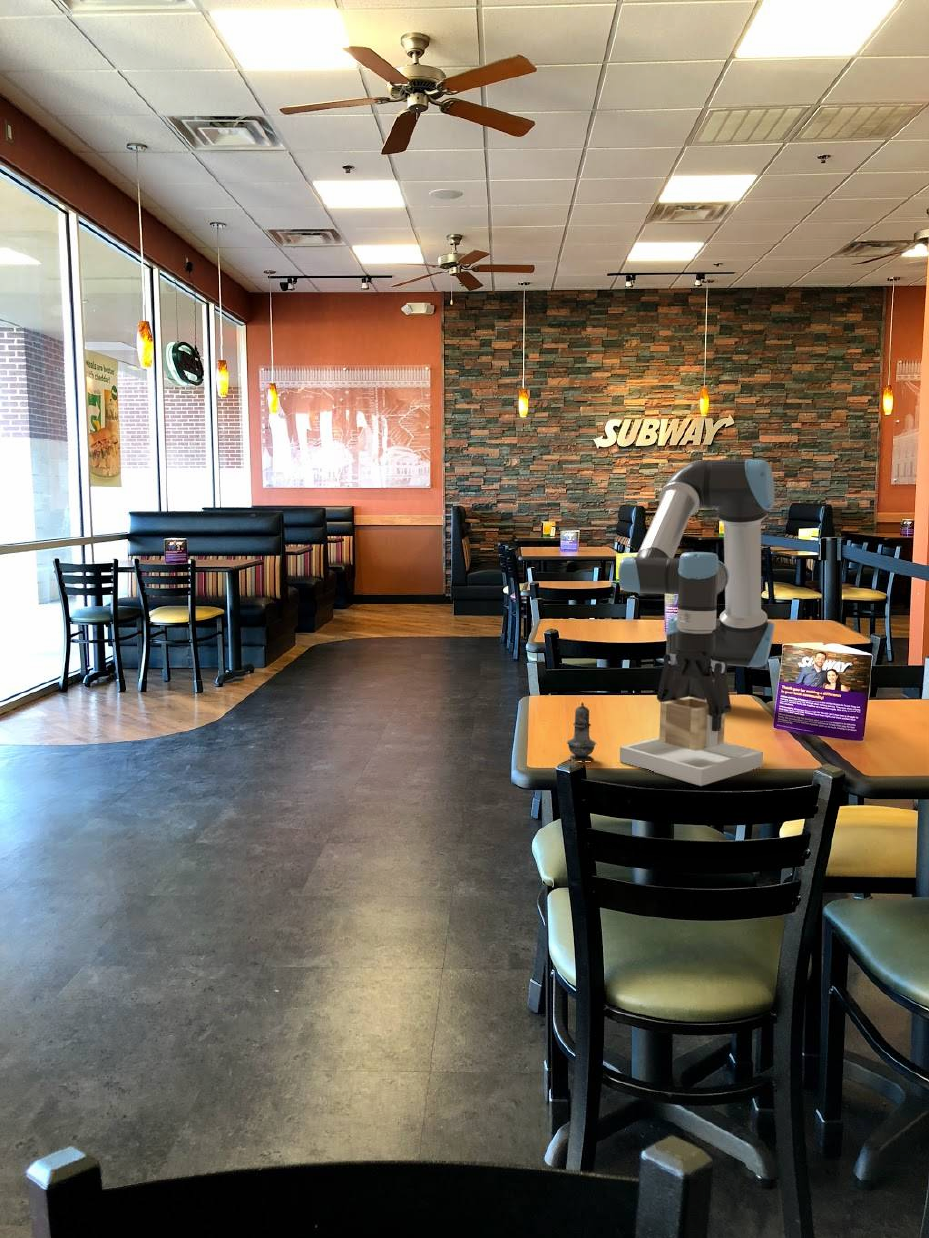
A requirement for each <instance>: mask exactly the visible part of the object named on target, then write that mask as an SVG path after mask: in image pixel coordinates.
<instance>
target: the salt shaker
mask: <svg viewBox="0 0 929 1238" xmlns="http://www.w3.org/2000/svg"><path fill="white" fill-rule="evenodd" d="M574 716H575V717H574V722H573V723H572V724H573V726H574V734H573V738H571V739H568V740H567V742H566V744H567V745H568V748H569V752H570V753H571V754H572V755H570V756H569V757H570V759H567V760H568V761H569V760H573V761H582V762H585V761H593V760H594V761H595V759H594V757H592V756H591V754H592V753H593V752H594V750H595V746H596V745H597V742H596V741H594V740H592V739H591V737H590V727H591V726H592V725H591V723H590V710H589V708H588V707H586V706H585V703H584V702H581V704H580V706H578V707H576V709H575V713H574ZM594 761H593V762H594Z"/></svg>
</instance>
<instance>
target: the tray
mask: <svg viewBox="0 0 929 1238" xmlns="http://www.w3.org/2000/svg"><path fill="white" fill-rule="evenodd" d="M763 760H764V751H761V750H757V749H753V748H749V747H745V746H741V745H737V744H733V743H730V742H729V743H728V742H727V741H726V742H725V741H724V743H723V744H719V745H717V746H714V747H710V748H705V749H701V750H698V751H694V750H691V749H687V748H683V747H679V746H675V745H671V744H668V743H664V742H660V741H659V737H656V738H655V737H654V738H652V739H647V740H642V741H639V742H635V743H631V744H627V745H622V746H619V762H620V763H622V762H623V764H625V763H626V765H629V764H630V765H629V766H632V765H633V767H635V766H636V767H635V768H639V767H642V768H646V769H649V770H651V771H650V772H652V771H654V772H653V773H656V774H659V775H661V776H662V775H663V776H666V777H670V778H673V779H676V780H679V781H682V782H686V783H689V784H693V785H696V786H699V787H702V786H706V785H709V784H712V783H716V782H718V781H721V780H724V779H728V778H732V777H734V776H737V775H740V774H744V773H747V772H750V771H753V769H754V770H757V769H759V768H758V767H760V768H762V767H763V763H764V762H763ZM761 766H762V767H761ZM642 768H641V769H642ZM756 768H757V769H756ZM649 770H648V771H649Z"/></svg>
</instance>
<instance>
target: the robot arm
mask: <svg viewBox="0 0 929 1238" xmlns="http://www.w3.org/2000/svg"><path fill="white" fill-rule="evenodd" d="M775 490H776V488H775V481H774V475H773V471H772V468H771V465H770V464H769V463H768V461H766V460H763V459H751V458H742V459H741V458H740V459H737V458H736V459H701V460H696V461H693V462H690V463H688V464H687V465H685V466H683V467H681V468H680V469H678V470H677V471H676V472H674V473H673V474H672V475H671V476H670V477H668V479H667V480H666V481H665V482H664V484H663V486H662V488H661V490H660V493H659V494H658V504H659V505H658V507H657V510H656V512H655V515H654V516H653V518H652V521H651V523H650V525H649V527H648V530H647V532H646V534H645V537H643V541H642V544H641V545H640V548H639V550H638V553H636V554H637V555H636V556H634V555H633V556H632V555H631V556H626V557H623V558H622V559H621V560H620V562H619V566H618V574H617V575H618V584H619V587H620V589H621V590H622V591H625V592H629V593H631V592H632V593H637V594H661V595H662V594H663V595H665V594H666V595H677V612H676V613H677V615H673V616H670V617H669V619H668V621H667V628H666V633H665V636H666V640H665V641H666V643H665V644H666V645H665V646H666V647H665V650H666V651H665V654H664V655H663V657H662V658H663V668H662V672H661V677H660V681H659V685H658V689H657V693H656V694H657V695H656V699H657V701H659V702H660V703H661V702H666V701H670V700H675V699H680V698H684V697H693V698H698V699H702V700H705V698H706V701H707V704H708V706H709V709H710V712H711V713H710V714H708V715H707V731H706V747H707V748H710V747H714V746H717V740H718V731H720V730H721V720H722V714H724V713H725V714H728V713H731V712H732V705H731V698H730V691H729V684H727V681H728V679H727V669H728V666H734V667H735V666H736V667H746V668H750V667H751V668H763V667H765V665H766V664H767V663H768V660H769V657H770V652H771V648H772V643H773V639H774V631H775V624H774V622H771V621H768V614H767V612H765V611H764V610H763V609H762V548H761V547H762V539H761V538H762V533H761V532H762V521H764V519H766V518H767V517H768V511H770V510H772V509H773V508H774V506H775V500H776V499H775ZM700 509H701V510H702V509H707V510H711V509H713V510H716V518H717V519H718V520H719V521H720V522H721V523H722V524H723V546H724V547H723V550H724V551H723V553H724V559H723V561H724V563H723V562H722V561H720V560H719V556H718V554H717V553H714V552H708V551H707V552H705V551H690V552H689V551H688V552H687V551H686V552H682V553H681V555H680V557H679V558H674V557H675V554H676V552H677V550H678V549H679V548H678V547H679V545H680V542H681V541H682V538H683V535H684V532H685V531H686V530H685V529H686V527H687V525H688V522H689V520H690V517H691V516H693V515H694V514H695V513H696V512H697V511H698V510H700ZM723 590H724V600H725V601H724V603H725V607H724V610H723V611H722V612H721V613H720V615H719V618H717V603H718V602H717V599H718V595H719V594H720V593H722V592H723ZM712 672H713V673H712ZM713 678H714V683H715V686H714V683H713Z"/></svg>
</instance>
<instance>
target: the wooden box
mask: <svg viewBox="0 0 929 1238" xmlns="http://www.w3.org/2000/svg"><path fill="white" fill-rule="evenodd" d="M710 713H711V712H710V709H709V706H708V704H707V701H706V700H702V699H698V698H693V697H684V698H680V699H675V700H670V701H666V702H661V701H660V712H659V737H658V738H659V741H660V742H664V743H668V744H671V745H675V746H679V747H683V748H687V749H691V750H694V751H698V750H701V749H705V748H707V747H706V731H707V715H708V714H710ZM725 719H726V713H724V714H722V720H721V730H720V731H718V740H717V745H719V744H723V743H724V742H725V727H726V725H725V722H726V720H725Z"/></svg>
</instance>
